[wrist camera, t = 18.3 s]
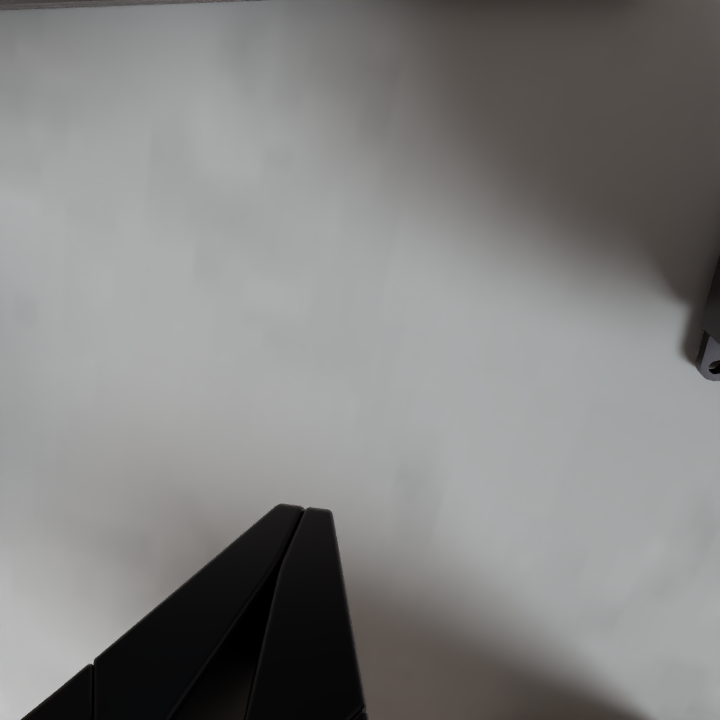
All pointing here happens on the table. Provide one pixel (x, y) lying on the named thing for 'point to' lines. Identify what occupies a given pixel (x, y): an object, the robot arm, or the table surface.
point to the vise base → (90, 3)
